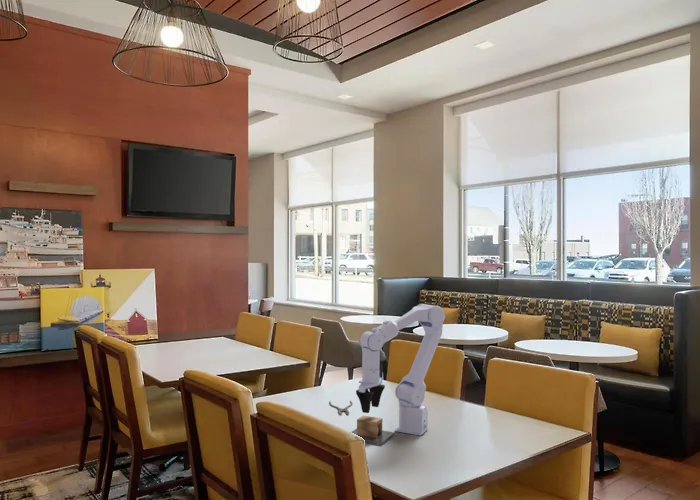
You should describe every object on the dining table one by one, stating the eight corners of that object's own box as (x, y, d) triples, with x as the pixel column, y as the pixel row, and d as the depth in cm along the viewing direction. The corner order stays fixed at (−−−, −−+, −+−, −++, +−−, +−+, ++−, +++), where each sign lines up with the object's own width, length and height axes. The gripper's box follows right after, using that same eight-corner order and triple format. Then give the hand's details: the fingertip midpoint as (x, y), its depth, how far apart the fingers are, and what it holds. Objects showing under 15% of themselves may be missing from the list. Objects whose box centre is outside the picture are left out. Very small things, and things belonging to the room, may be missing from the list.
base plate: (394, 435, 179) (394, 424, 179) (381, 445, 170) (381, 434, 170) (359, 429, 185) (359, 419, 185) (345, 439, 175) (345, 428, 175)
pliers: (349, 399, 223) (365, 412, 204) (349, 401, 223) (365, 415, 204) (327, 401, 220) (340, 414, 201) (327, 403, 220) (340, 417, 201)
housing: (382, 433, 178) (382, 418, 178) (376, 438, 174) (376, 422, 174) (363, 430, 181) (363, 415, 181) (356, 434, 177) (356, 419, 177)
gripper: (368, 363, 186) (368, 402, 186) (350, 371, 173) (350, 413, 173) (387, 365, 183) (387, 405, 183) (370, 373, 170) (370, 416, 170)
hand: (370, 409), depth 178 cm, fingers open, 7 cm apart
